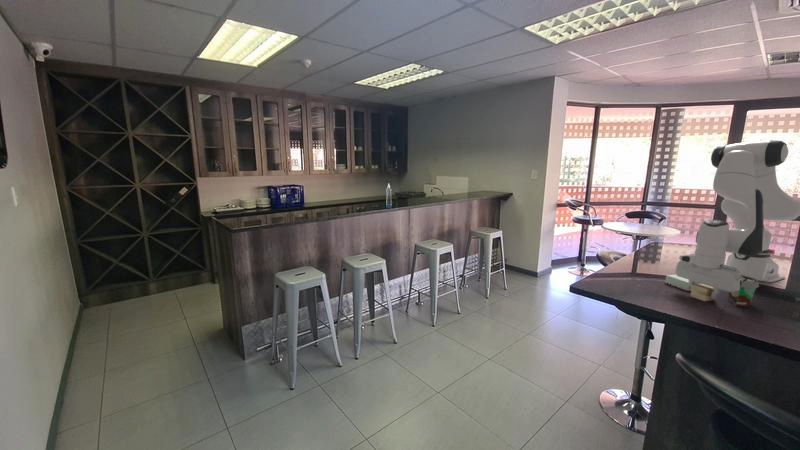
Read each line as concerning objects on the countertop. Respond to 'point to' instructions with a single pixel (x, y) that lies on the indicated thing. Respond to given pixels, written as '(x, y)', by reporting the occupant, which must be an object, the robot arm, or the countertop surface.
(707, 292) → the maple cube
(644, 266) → the countertop surface
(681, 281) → the sage block
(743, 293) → the food container
